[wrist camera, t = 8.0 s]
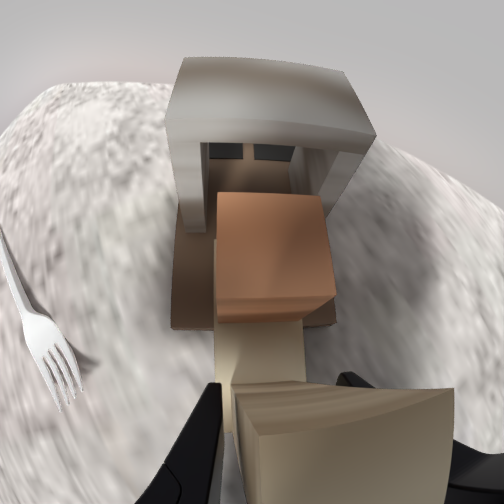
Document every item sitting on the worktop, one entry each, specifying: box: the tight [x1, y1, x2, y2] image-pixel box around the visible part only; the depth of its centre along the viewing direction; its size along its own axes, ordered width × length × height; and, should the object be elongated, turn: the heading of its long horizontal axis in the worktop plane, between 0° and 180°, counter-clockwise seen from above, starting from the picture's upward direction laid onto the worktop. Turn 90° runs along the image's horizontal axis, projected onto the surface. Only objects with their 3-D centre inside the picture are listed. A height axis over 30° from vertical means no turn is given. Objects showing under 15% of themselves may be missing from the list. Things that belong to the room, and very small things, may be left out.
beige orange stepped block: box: [214, 192, 454, 504], centre depth 9 cm, size 10×4×11 cm, turn 2°
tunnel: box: [164, 57, 377, 331], centre depth 14 cm, size 14×9×9 cm, turn 3°
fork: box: [0, 230, 83, 412], centre depth 14 cm, size 3×20×2 cm, turn 47°
